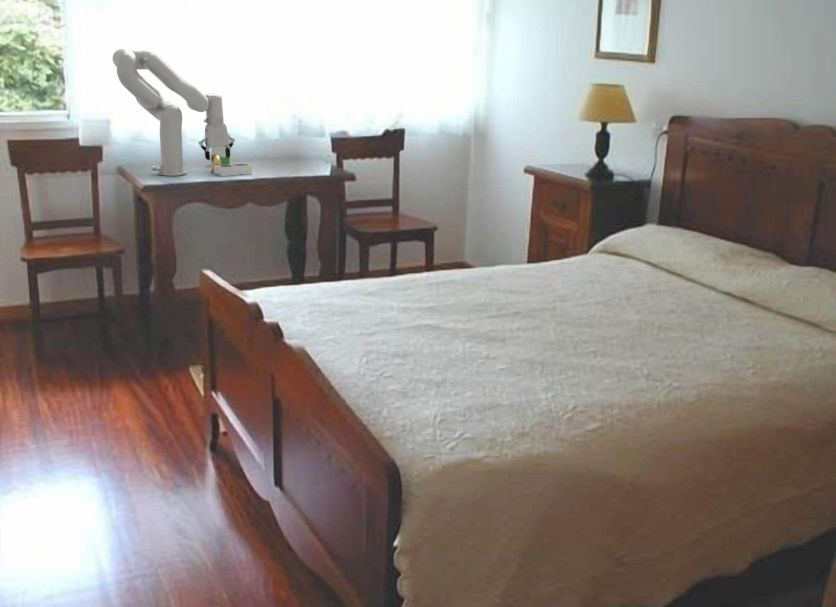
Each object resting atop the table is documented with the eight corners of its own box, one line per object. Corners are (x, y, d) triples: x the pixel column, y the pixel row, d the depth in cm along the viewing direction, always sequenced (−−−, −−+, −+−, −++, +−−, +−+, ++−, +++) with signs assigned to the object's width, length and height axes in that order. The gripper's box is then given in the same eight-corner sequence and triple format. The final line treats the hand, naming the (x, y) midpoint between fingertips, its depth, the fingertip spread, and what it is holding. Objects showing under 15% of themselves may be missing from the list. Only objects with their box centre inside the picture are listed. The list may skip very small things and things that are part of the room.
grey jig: (221, 176, 420) (220, 167, 418) (214, 173, 426) (213, 164, 425) (251, 174, 428) (251, 165, 427) (244, 171, 434) (244, 162, 433)
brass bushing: (213, 172, 429) (212, 155, 426) (209, 171, 432) (209, 154, 430) (222, 172, 431) (221, 154, 429) (218, 171, 434) (218, 153, 432)
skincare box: (214, 166, 447) (212, 133, 442) (211, 164, 452) (209, 132, 448) (231, 166, 450) (230, 133, 445) (228, 164, 456) (227, 131, 451)
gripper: (200, 123, 417) (203, 161, 423) (236, 120, 427) (238, 157, 432) (194, 121, 423) (197, 159, 429) (229, 118, 432) (232, 155, 438)
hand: (218, 158), depth 430 cm, fingers open, 9 cm apart
